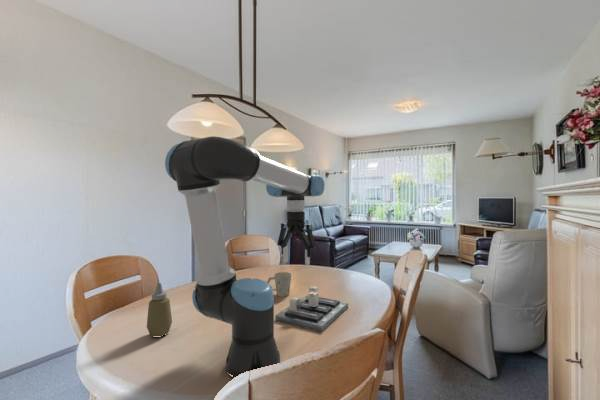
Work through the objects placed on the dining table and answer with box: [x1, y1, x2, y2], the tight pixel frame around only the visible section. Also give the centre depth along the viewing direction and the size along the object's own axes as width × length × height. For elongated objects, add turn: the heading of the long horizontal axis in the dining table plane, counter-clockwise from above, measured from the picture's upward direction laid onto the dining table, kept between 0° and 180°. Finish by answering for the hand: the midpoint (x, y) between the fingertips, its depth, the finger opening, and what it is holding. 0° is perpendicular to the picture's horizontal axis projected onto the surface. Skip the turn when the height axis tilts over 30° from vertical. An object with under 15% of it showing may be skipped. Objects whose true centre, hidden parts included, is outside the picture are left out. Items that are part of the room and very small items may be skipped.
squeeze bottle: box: [146, 282, 173, 337], centre depth 102 cm, size 8×8×18 cm
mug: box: [266, 271, 292, 297], centre depth 143 cm, size 8×13×10 cm, turn 78°
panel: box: [274, 285, 349, 332], centre depth 119 cm, size 26×20×8 cm
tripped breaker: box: [308, 291, 320, 307], centre depth 119 cm, size 3×3×5 cm
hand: (296, 263), depth 123 cm, fingers open, 10 cm apart
